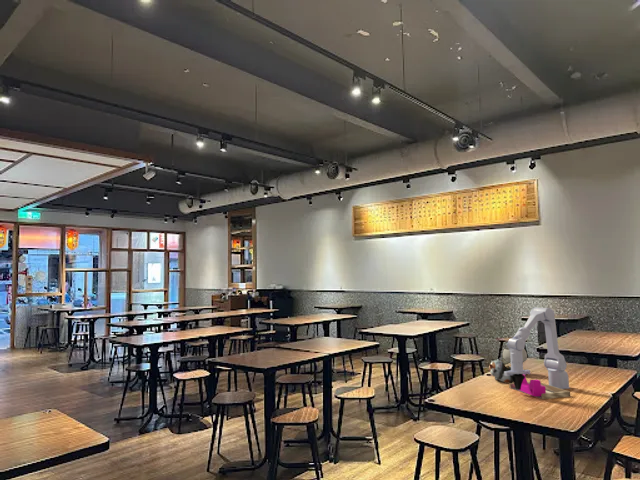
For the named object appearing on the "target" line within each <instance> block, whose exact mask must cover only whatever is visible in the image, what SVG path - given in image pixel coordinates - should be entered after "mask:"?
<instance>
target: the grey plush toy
mask: <svg viewBox="0 0 640 480" xmlns="http://www.w3.org/2000/svg"><path fill="white" fill-rule="evenodd" d="M490 360H491V361H490V364H488V369H489V372H490V374H491V376H492V377H494V379H495V381H496V380H497V381H500V382H502V383H505V384H509V383H514V382H513V380H512V378H511V377H510V375H509V376H505V375H504V371H509V370H511V366H510V365H508V364H507V365H506V366H505V363H504V361H502V360H500V359H499V358H497V359H493V358H491V359H490Z"/></svg>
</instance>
